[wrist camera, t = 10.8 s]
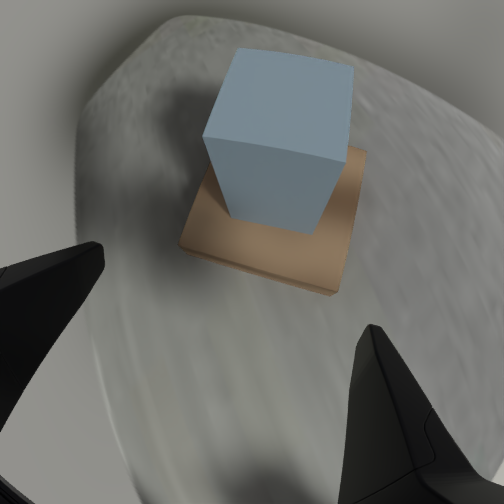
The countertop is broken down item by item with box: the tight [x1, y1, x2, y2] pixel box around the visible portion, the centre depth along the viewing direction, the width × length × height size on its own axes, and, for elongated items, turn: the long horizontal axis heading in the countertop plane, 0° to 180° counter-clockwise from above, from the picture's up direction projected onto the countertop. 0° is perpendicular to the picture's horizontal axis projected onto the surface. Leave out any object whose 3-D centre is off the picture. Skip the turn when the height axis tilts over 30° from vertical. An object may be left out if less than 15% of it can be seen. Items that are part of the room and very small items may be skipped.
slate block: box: [202, 48, 354, 235], centre depth 15 cm, size 5×5×9 cm
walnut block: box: [178, 146, 367, 296], centre depth 21 cm, size 10×10×3 cm
